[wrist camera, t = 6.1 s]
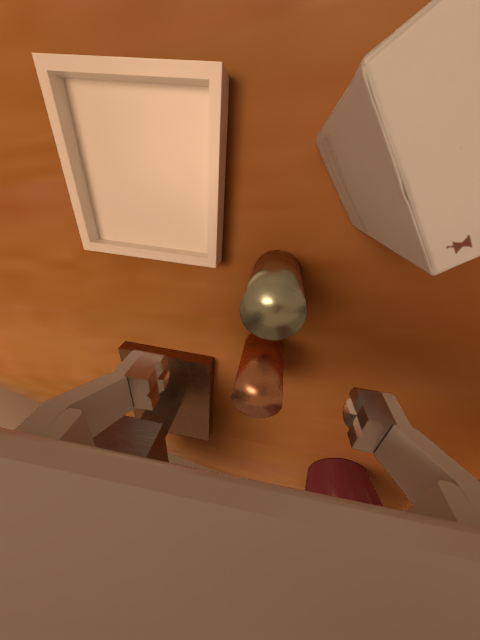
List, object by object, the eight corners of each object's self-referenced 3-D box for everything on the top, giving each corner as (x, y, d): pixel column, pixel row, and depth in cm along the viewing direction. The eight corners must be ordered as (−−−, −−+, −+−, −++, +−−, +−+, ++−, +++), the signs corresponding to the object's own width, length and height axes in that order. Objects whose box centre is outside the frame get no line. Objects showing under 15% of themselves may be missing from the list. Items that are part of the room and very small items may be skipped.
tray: (229, 75, 16) (221, 61, 14) (221, 260, 23) (215, 268, 21) (59, 66, 17) (31, 52, 15) (99, 244, 24) (84, 249, 22)
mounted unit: (213, 357, 29) (114, 595, 12) (211, 432, 38) (150, 636, 21) (125, 341, 31) (-74, 539, 14) (141, 417, 39) (31, 598, 22)
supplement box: (456, 168, 16) (771, 145, 6) (350, 227, 19) (428, 284, 9) (428, 46, 14) (900, -400, 3) (311, 137, 17) (355, 60, 6)
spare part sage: (305, 253, 21) (314, 287, 14) (295, 297, 23) (298, 344, 17) (256, 247, 22) (242, 277, 15) (251, 291, 24) (237, 334, 17)
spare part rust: (286, 334, 26) (286, 388, 19) (279, 364, 28) (277, 422, 21) (246, 327, 26) (233, 378, 20) (243, 357, 29) (229, 412, 22)
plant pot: (274, 471, 41) (270, 577, 30) (328, 435, 33) (348, 557, 22) (341, 503, 42) (360, 615, 31) (406, 475, 35) (460, 608, 24)
